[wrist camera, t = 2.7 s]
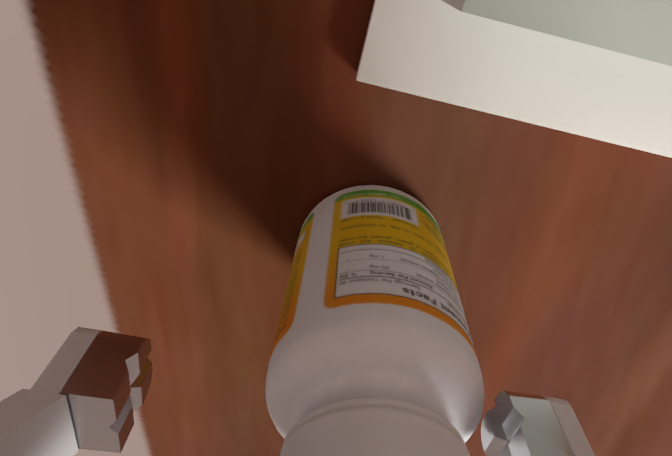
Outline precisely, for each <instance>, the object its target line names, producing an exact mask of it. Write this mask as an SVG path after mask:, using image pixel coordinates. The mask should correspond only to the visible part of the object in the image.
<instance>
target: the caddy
mask: <svg viewBox="0 0 672 456" xmlns="http://www.w3.org/2000/svg"><path fill="white" fill-rule="evenodd" d="M356 81H360V82H364V83H368V84H372V85H376V86H380V87H384V88H388V89H392V90H396V91H401V92H405V93H409V94H413V95H417V96H421V97H425V98H429V99H433V100H437V101H441V102H446V103H450V104H454V105H458V106H462V107H466V108H470V109H474V110H478V111H482V112H486V113H491V114H495V115H499V116H503V117H507V118H511V119H515V120H519V121H523V122H527V123H531V124H536V125H540V126H544V127H548V128H552V129H556V130H560V131H564V132H568V133H572V134H576V135H581V136H585V137H589V138H593V139H597V140H601V141H605V142H609V143H613V144H617V145H621V146H626V147H630V148H634V149H638V150H642V151H646V152H650V153H654V154H658V155H662V156H666V157H671V158H672V0H374V3H373V8H372V12H371V16H370V20H369V24H368V28H367V33H366V37H365V41H364V45H363V49H362V53H361V57H360V62H359V66H358V70H357V77H356Z"/></svg>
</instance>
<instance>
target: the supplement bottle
mask: <svg viewBox="0 0 672 456" xmlns="http://www.w3.org/2000/svg"><path fill="white" fill-rule="evenodd" d="M266 402H267V407H268V411H269V414H270V417H271V419H272V421H273V423H274V425H275V427H276V428H277V430H278V432H279V433H280V434H281V435H282V437H283V438H284V439H285V440H284V443H283V448H282V450H281V453H280V456H470V454H469V452H468V450H467V448H466V445H465V442H466V441H467V440H468V439H469V438H470V436H471V435H472V433H473V432H474V430H475V429H476V427H477V425H478V423H479V421H480V418H481V415H482V411H483V406H484V384H483V379H482V374H481V370H480V366H479V363H478V359H477V355H476V352H475V349H474V345H473V342H472V339H471V335H470V332H469V329H468V325H467V322H466V318H465V315H464V311H463V308H462V305H461V301H460V297H459V294H458V290H457V286H456V283H455V279H454V276H453V272H452V269H451V265H450V262H449V258H448V255H447V251H446V248H445V244H444V241H443V238H442V235H441V232H440V229H439V227H438V224H437V222H436V220H435V219H434V217H433V215H432V214H431V213H430V211H429V210H428V209H427V208H426V207H425V206H424V205H423V204H422V203H421V202H419V201H418V200H417V199H415V198H414V197H412V196H410V195H409V194H407V193H404V192H402V191H400V190H397V189H394V188H390V187H386V186H380V185H362V186H354V187H350V188H346V189H343V190H341V191H338V192H336V193H334V194H332V195H330V196H328V197H327V198H325V199H324V200H323V201H321V202H320V203H319V204H318V205H317V206H316V207H315V208H314V209H313V210H312V211H311V212H310V214H309V215H308V217H307V218H306V220H305V222H304V224H303V226H302V228H301V231H300V234H299V238H298V241H297V245H296V249H295V254H294V259H293V263H292V267H291V272H290V276H289V281H288V285H287V289H286V293H285V298H284V302H283V306H282V310H281V314H280V318H279V322H278V327H277V330H276V335H275V339H274V343H273V347H272V350H271V355H270V360H269V366H268V372H267V378H266Z"/></svg>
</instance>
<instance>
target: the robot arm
mask: <svg viewBox="0 0 672 456" xmlns="http://www.w3.org/2000/svg"><path fill="white" fill-rule="evenodd" d="M150 351H151V342H150V339H147V338H141V337H136V336H130V335H124V334H119V333H113V332H107V331H101V330H94V329H88V328H81V327H78V328H77V329H75V330H74V331H73V332H71V334H70V335H69V336H68V338H67V339H66V341H65V342H64V344H63V345H62V346H61V348H60V349H59V350H58V352H57V353H56V355H55V356H54V357H53V359H52V360H51V362H50V363H49V364H48V366H47V367H46V369H45V370H44V371H43V373H42V374H41V375H40V377H39V378H38V380H37V381H36V383H35V384H34V385H33V387H32V388H31V389H30V390H27V389H22V390H20V391H18V392H17V393H15V394H13V395H11V396H10V397H8V398H6V399H4V400H3V401H1V402H0V456H74V455H75V454H76V453H77V452H78V451H79V450H78V449H88V450H98V451H109V452H118V453H121V451H122V449H123V446H124V444H125V442H126V440H127V438H128V435H129V433H130V431H131V429H132V427H133V425H134V419H133V411H135V410H136V409H138V408H139V407H140V406H142V405H143V402H144V400H145V398H146V395H147V393H148V389H149V386H150V382H151V378H152V362H151V361H150V360H149V359H148V358H147V357H148V355H149V353H150ZM495 404H496V407H495V408H493V409H491V410H489V411H487V413H486V415H485V417H484V418H483V420H482V427H481V440H482V445H483V449H484V452H485V453H486V455H487V456H595V455H594V453H593V450H592V448H591V446H590V444H589V442H588V440H587V438H586V436H585V434H584V432H583V430H582V428H581V425H580V423H579V421H578V419H577V417H576V415H575V413H574V411H573V409H572V407H571V405H570V404H569V403H568V402H567V401H566V400H563V399H556V398H550V397H543V396H539V395H531V394H524V393H517V392H509V391H502V392H500V393H499V394H498V395H497V397H496V398H495Z"/></svg>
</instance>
